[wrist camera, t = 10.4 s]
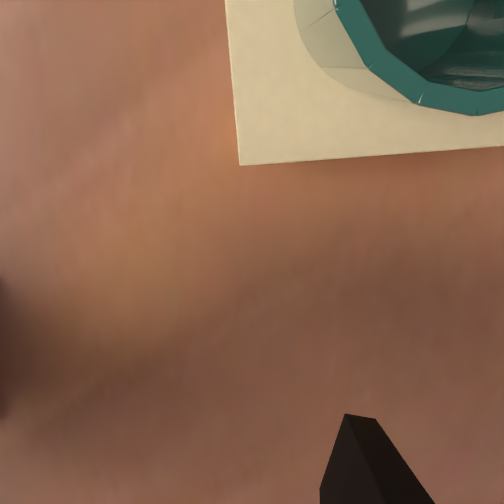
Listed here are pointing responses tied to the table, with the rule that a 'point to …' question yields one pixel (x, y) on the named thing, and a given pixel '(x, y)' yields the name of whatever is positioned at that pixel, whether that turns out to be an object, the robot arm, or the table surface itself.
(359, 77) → the cup
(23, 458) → the table surface
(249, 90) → the block
